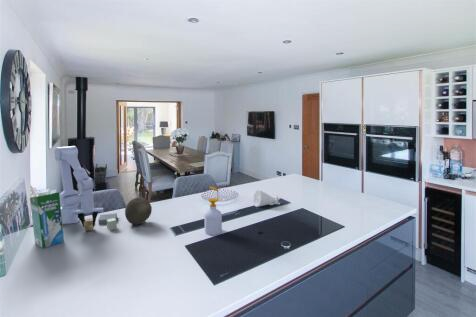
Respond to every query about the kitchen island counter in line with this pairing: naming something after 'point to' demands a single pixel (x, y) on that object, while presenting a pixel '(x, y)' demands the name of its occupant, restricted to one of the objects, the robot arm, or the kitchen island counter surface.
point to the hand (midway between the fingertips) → (89, 226)
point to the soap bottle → (213, 218)
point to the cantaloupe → (138, 211)
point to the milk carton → (47, 219)
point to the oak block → (88, 224)
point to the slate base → (107, 216)
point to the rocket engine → (264, 199)
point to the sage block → (111, 224)
